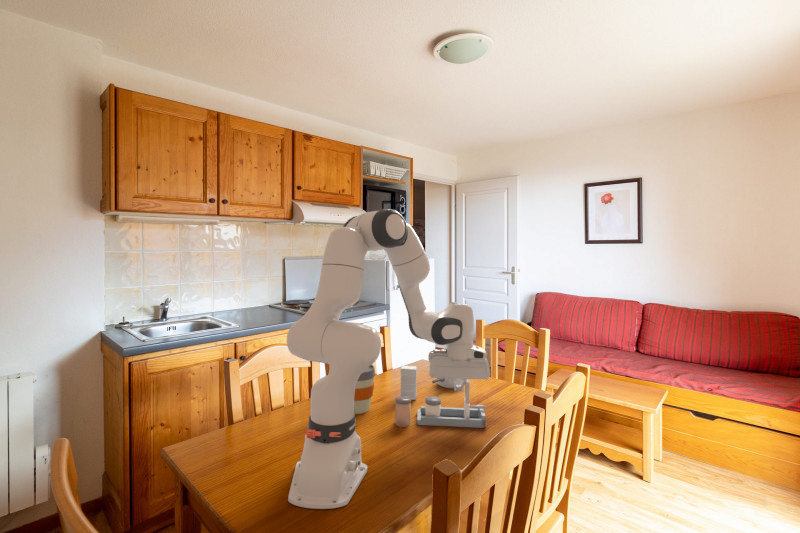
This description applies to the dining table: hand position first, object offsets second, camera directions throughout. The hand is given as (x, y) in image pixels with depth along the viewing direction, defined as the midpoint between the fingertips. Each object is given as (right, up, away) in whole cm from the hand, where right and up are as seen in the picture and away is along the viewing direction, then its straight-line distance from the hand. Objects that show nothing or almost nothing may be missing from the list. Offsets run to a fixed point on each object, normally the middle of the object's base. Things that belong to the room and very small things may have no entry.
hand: (458, 390), depth 129 cm
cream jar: (-9, -10, +1) cm, 13 cm away
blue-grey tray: (-2, -10, 0) cm, 10 cm away
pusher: (+6, -10, 0) cm, 12 cm away
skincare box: (-17, -9, +19) cm, 27 cm away
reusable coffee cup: (-35, -9, +9) cm, 37 cm away
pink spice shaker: (-19, -10, -2) cm, 22 cm away
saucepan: (-1, -9, +31) cm, 32 cm away
